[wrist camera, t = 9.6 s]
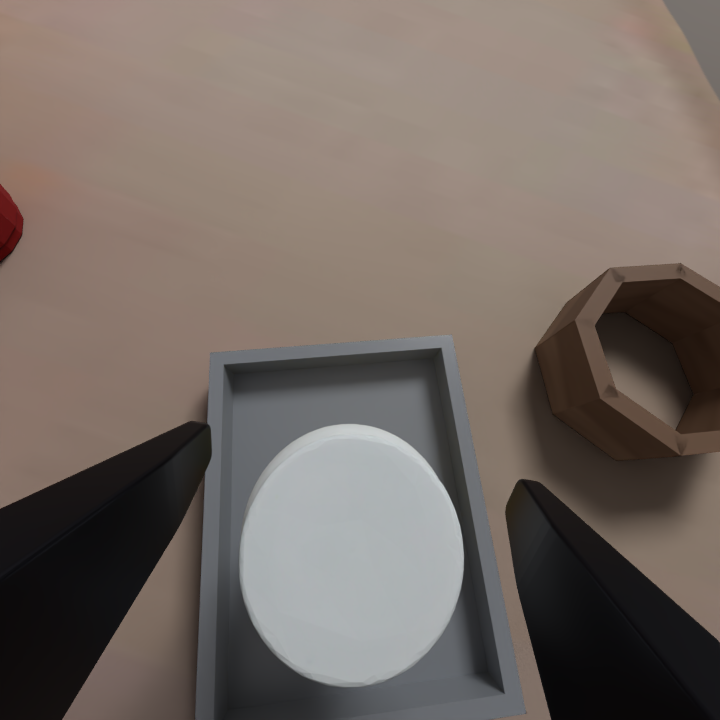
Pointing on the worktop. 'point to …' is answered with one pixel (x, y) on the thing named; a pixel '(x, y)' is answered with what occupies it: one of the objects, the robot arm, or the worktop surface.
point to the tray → (244, 467)
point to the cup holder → (592, 375)
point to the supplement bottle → (350, 556)
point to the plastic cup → (9, 223)
